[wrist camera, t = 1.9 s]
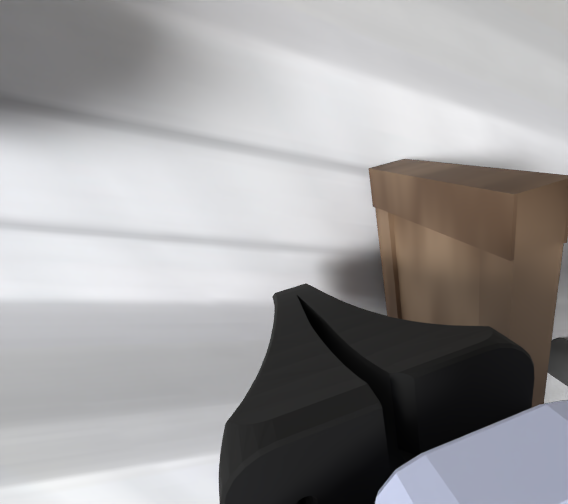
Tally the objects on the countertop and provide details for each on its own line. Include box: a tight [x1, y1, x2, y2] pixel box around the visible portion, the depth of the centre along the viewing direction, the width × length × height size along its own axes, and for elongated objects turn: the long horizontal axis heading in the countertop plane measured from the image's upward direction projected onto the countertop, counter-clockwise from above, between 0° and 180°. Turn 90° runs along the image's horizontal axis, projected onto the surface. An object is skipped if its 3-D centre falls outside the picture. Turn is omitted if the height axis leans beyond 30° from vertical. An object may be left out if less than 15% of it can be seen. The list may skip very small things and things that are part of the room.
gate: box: [369, 159, 568, 408], centre depth 13 cm, size 15×2×7 cm, turn 12°
